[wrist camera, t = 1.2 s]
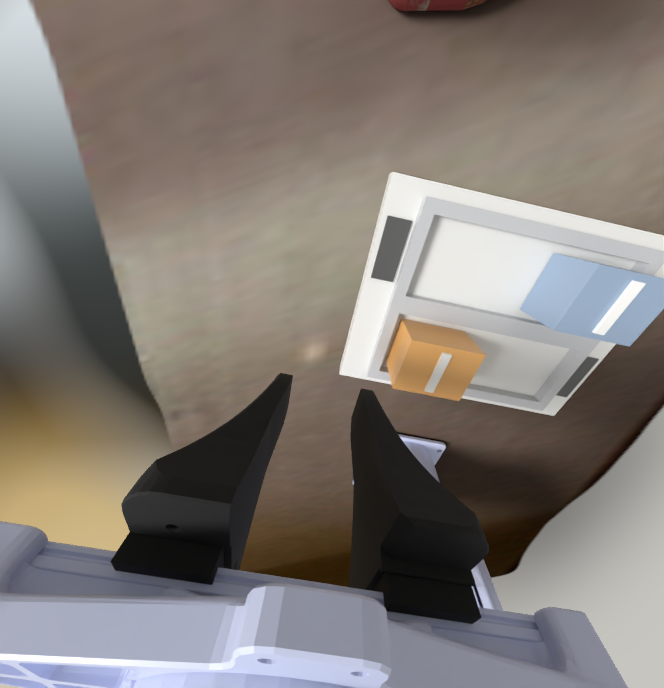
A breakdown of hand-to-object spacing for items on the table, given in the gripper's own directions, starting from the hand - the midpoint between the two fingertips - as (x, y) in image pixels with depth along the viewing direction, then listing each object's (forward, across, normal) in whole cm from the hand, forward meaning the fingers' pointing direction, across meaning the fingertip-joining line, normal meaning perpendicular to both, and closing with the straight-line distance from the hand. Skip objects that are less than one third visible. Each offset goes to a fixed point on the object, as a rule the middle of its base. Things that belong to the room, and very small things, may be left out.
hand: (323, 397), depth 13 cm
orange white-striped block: (+8, -7, 0) cm, 11 cm away
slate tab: (+8, -15, -6) cm, 19 cm away
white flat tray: (+9, -12, -3) cm, 15 cm away
